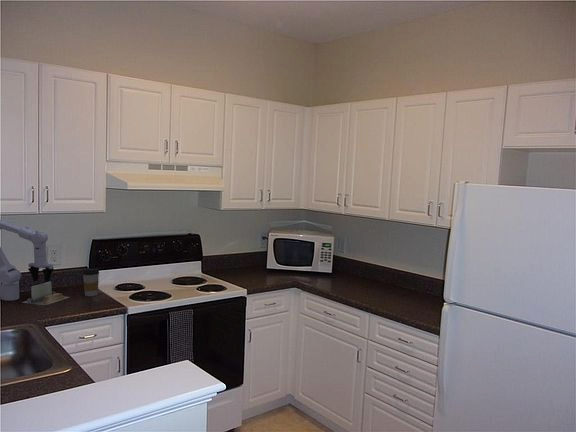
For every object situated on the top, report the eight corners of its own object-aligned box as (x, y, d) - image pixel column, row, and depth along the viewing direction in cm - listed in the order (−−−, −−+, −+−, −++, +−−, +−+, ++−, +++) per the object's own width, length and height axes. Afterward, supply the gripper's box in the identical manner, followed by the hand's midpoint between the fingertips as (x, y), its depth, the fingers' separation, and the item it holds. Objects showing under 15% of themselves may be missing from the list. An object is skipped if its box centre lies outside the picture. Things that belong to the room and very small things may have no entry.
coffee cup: (98, 298, 255) (97, 270, 254) (81, 298, 253) (81, 271, 252) (100, 294, 263) (100, 267, 262) (85, 294, 261) (84, 268, 260)
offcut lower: (43, 302, 240) (43, 299, 240) (58, 297, 250) (58, 295, 250) (49, 303, 239) (49, 300, 239) (64, 298, 249) (64, 295, 249)
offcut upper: (44, 299, 241) (44, 296, 240) (56, 295, 248) (56, 293, 248) (50, 300, 240) (50, 297, 239) (62, 296, 247) (62, 293, 247)
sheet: (31, 301, 241) (31, 286, 241) (49, 296, 253) (49, 281, 252) (33, 302, 241) (33, 286, 240) (51, 296, 252) (51, 281, 252)
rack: (21, 304, 240) (21, 298, 240) (47, 296, 256) (47, 290, 256) (45, 307, 236) (45, 301, 236) (70, 298, 252) (70, 293, 252)
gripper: (57, 255, 246) (58, 280, 248) (35, 253, 251) (36, 278, 252) (46, 257, 240) (47, 283, 241) (24, 255, 244) (25, 281, 245)
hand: (41, 281), depth 246 cm, fingers open, 7 cm apart
